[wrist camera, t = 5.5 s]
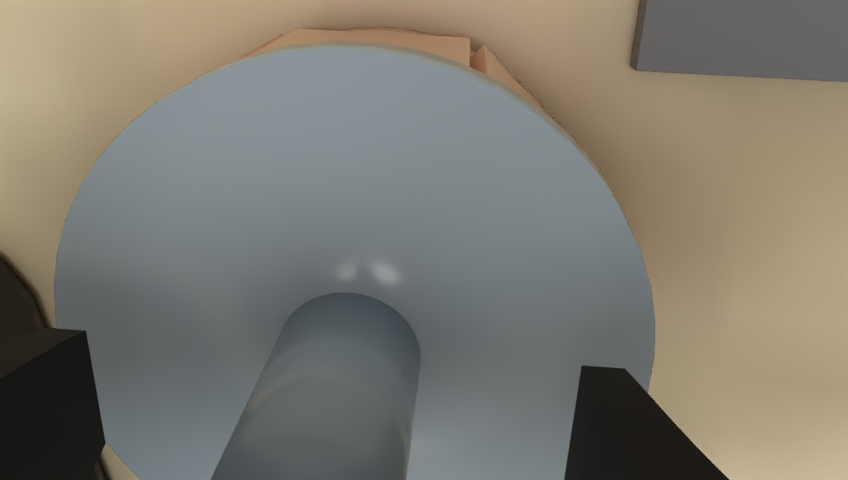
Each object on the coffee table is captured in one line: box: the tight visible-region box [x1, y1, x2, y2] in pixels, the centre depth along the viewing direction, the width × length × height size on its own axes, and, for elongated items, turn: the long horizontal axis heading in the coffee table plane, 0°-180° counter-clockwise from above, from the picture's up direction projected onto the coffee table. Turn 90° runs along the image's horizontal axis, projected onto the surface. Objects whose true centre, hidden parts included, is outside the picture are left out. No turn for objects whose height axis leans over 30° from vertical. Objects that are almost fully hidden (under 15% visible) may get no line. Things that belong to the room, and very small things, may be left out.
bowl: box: [239, 28, 548, 115], centre depth 15 cm, size 9×9×4 cm
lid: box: [54, 40, 655, 480], centre depth 11 cm, size 10×10×4 cm
